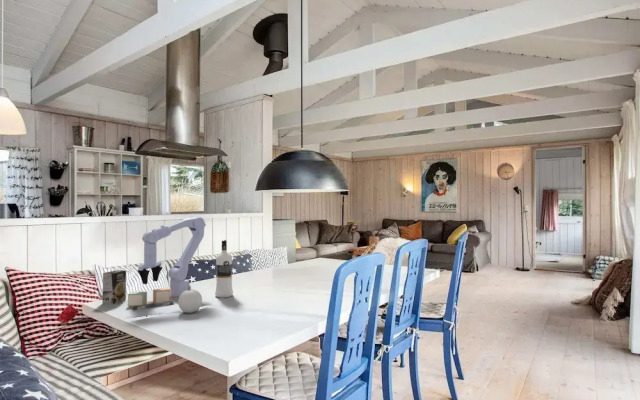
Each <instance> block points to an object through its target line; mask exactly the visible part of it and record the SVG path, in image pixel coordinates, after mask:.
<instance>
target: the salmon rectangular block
mask: <svg viewBox="0 0 640 400" xmlns="http://www.w3.org/2000/svg"><path fill="white" fill-rule="evenodd" d="M152 301H153V302H154V303H159V302H165V301H171V296H170V288H169V287H164V288H157V289H156V288H155V289H152Z"/></svg>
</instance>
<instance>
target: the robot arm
mask: <svg viewBox="0 0 640 400" xmlns="http://www.w3.org/2000/svg"><path fill="white" fill-rule="evenodd" d="M205 227H206V221H205V220H204V218H202V217H199V216H198V217H196V216H195V217H194V216H190V217H189V218H188V217H187V218H185V219H182V220H180V221H178V222H176V223H173V224H171V225H163V224H162V225H160V227H158V228H152V229H151V231H146V232H144V233H143V236H142V237H141V239H142V241H143V244H144V245H143V246H144V247H143V256H144V257H143V264H142V265H138V269H137V273H138V274H139V277H140V279H141V282H142V284H143V285H147V284H148V281H149V275H150V270H151V272H152V281H153V282H158V281H159V277H160V273H161V272H162V269H163V266H162V262H161V261H158V262H157V243H158V241H160V240H162V239H164V238H168V237H169V236H171V234H172V233H173V232H176V231H179V230H181V229H183V228H188V229H189V230H190V232H191V234H192V236H191V238H190V240H189V241H188V243H187V245H186V247H185V249H184V251H183V252H182V254H181V256H180V258H179V260H178V261H176V262H175V263H174V265H173V266H172V267H170V268H169V269H168V271H167V273H168V274H167V275H168V277H169V278H170V282H169V285H170V286H169V287H170V288H169V289H170V298H173V297H174V298H179V296H180V295H181V293H183V292H184V291H186V290H188V286H191V285H190V281H189V279H186V278H187V276H188V271H189V264H190V263H191V260H192V258H193V257H194V255H195V253H196V251H197V249H198V248H199V246H200V244H201V242H202V241H203V238H204V235H205ZM148 269H149V270H148Z"/></svg>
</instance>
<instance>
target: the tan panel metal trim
mask: <svg viewBox="0 0 640 400" xmlns="http://www.w3.org/2000/svg"><path fill="white" fill-rule="evenodd" d="M170 305H174V300H170V301H165V302H159V303H154V302H153V300H150V301H148V300H147V304H145V305H138V306H133V307H129V308H130V309H131V310H132V311H137V310H139V311H140V310H144V309H151V308H158V307H163V306H170ZM127 306H128V303H127Z"/></svg>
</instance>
